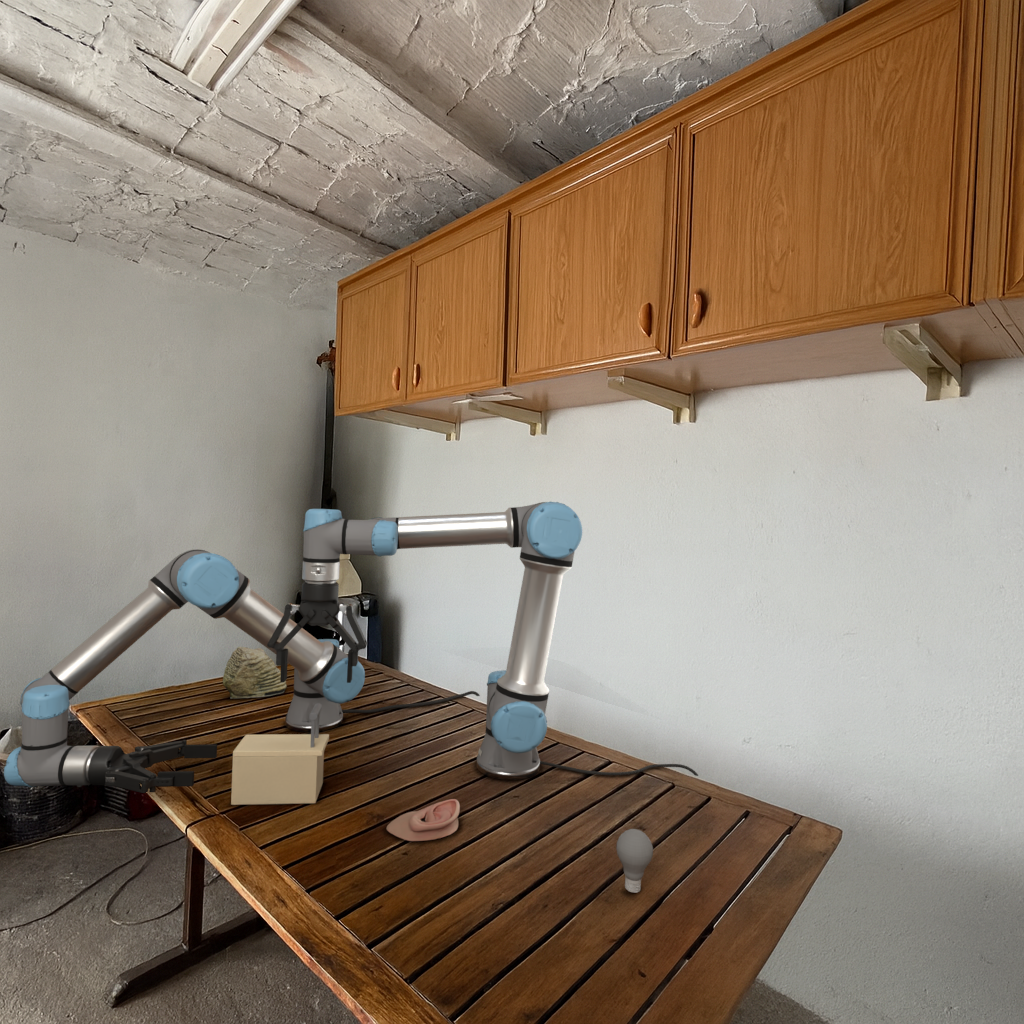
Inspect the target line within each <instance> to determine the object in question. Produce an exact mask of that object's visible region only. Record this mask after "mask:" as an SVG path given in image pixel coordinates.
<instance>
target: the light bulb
mask: <svg viewBox="0 0 1024 1024" xmlns="http://www.w3.org/2000/svg"><path fill="white" fill-rule="evenodd" d="M615 849H616V854H617V857H618V859H619V861H620V863H621V865H622V867H623V873H624V874H623V875H624V876H625V878H624V888H625V890H627V891H628V892H630V893H634V894H635V893H639V892H640V891H641V889H642V887H641V886H642V879H643V877H644V875H645V871H646V868H647V867H648V866H649V864H650V863H651V861H652V859H653V855H654V847H653V843H652V841H651V838H649V836H648V835H647V834H646V833H645V832H643V831H642V830H641V829H636V828H629V829H627V830H625V831H623V832H622V833H621V834H620V835H619V837H618V839H617V841H616V847H615Z"/></svg>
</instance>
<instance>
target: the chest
mask: <svg viewBox="0 0 1024 1024" xmlns="http://www.w3.org/2000/svg"><path fill="white" fill-rule="evenodd" d="M324 763H325V751H324V752H323V755H322V756H238V757H233V756H232V765H231V766H232V770H231V795H230V796H231V797H230V806H231V805H232V806H236V805H237V806H238V805H241V806H244V805H293V804H295V805H296V804H298V805H299V804H316V803H317V800H318V797H319V794H320V792H321V790H322V787H323V783H324Z"/></svg>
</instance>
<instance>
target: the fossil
mask: <svg viewBox="0 0 1024 1024" xmlns="http://www.w3.org/2000/svg"><path fill="white" fill-rule="evenodd" d="M222 676H223V677H222V685H223V687H224V688H225V690H226V691H228V693H229V698H230V699H250V698H264V697H271V696H275V695H281V694H284V693H285V691H286V689H287V687H288V686H287V680H286V681H285V682H280V678H281V669H279V668H278V667H277V665H276V662H274V660H273V659H272V658H271V657H270V656H269V655H268V654H267V653H266V652H265V650H264V649H263V648H260V647H258V648H251V647H247V646H246V647H245V646H238V647H237V648H236V649H235V650H233V651H232V653H231V656H230V657H229V659H228V660H227V663H226V666H225V668H224V671H223V675H222Z"/></svg>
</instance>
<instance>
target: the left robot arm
mask: <svg viewBox="0 0 1024 1024" xmlns="http://www.w3.org/2000/svg"><path fill="white" fill-rule="evenodd" d="M147 585H148V586H147V588H145V589H144V590H143V591H142V592H140V593H139V594H138V595H137V596H136V597H135V598H134V599H133V600H131V601H130V602H128V604H127V605H125V606H124V607H123V608H122V609H120V610H119V611H118V612H117V613H115V615H114V616H112V617H111V618H110V619H109V620H108V621H107V622H105V623H104V624H103V625H102V626H101V627H100V628H98V629H97V630H96V631H94V633H93V634H91V635H90V636H89V637H87V638H86V639H85V640H84V641H83V642H82V643H81V644H79V645H78V646H77V647H76V648H75V649H73V650H72V651H71V652H70V653H69V654H68V655H66V656H65V657H64V658H63V659H62V660H60V662H58V663H57V664H56V665H55V666H53V667H52V668H51V669H50V670H49V671H48V672H46V673H45V674H43V676H42V677H37V678H36V679H33V680H31V681H30V682H29V683H28V684H26V686H25V687H24V688H23V690H22V693H21V695H20V698H19V699H20V701H19V702H20V707H21V746H18V747H16V748H14V749H13V750H12V751H11V752H10V753H9V755H8V757H7V758H6V763H5V766H4V768H3V777H4V779H5V782H6V783H7V784H8V785H11V786H14V787H29V788H37V787H54V786H55V787H58V786H60V787H61V786H63V787H67V786H76V787H77V788H82V787H83V786H90V785H92V786H106V787H117V788H120V789H125V790H129V791H133V792H136V793H141V794H146V793H150V794H151V793H156V791H157V788H171V787H173V788H174V787H175V788H176V787H177V788H178V787H179V788H181V787H183V788H184V787H193V786H194V784H195V770H182V771H181V770H179V771H178V770H175V771H173V770H172V771H167V770H166V771H165V770H164V771H158V772H157V774H156V773H154V772H152V771H150V770H149V769H148V768H152V766H153V765H155V764H158V763H162V762H167V761H170V760H175V759H178V758H183V759H216V758H217V757H218V744H212V743H211V744H188V743H187V739H182V740H177V741H171V742H165V743H158V744H152V745H142V746H141V745H140V746H135V747H134V751H132V752H131V751H130V752H129V753H126V752H125V751H124V750H123V748H122V747H121V746H120V745H101V746H99V745H68V727H69V725H68V724H69V707H70V700H72V698H74V697H75V696H76V695H77V694H78V693H79V692H80V691H81V690H82V689H83V688H85V687H86V686H87V685H88V684H89V683H90V682H92V681H93V680H94V679H95V678H96V677H98V676H99V674H101V673H102V672H103V671H104V670H105V669H106V668H107V667H109V666H110V665H111V664H112V663H113V662H114V661H116V660H117V659H118V658H119V657H120V656H121V655H122V654H124V653H125V652H126V651H127V650H128V649H129V648H131V647H132V645H134V644H135V643H136V642H137V641H138V640H139V639H141V638H142V637H143V636H144V635H145V634H146V633H148V632H149V631H150V630H151V629H152V628H153V627H154V626H156V625H157V624H158V623H159V622H160V621H161V620H162V619H163V618H165V617H166V616H167V615H168V614H169V613H170V612H171V611H173V610H180V609H182V608H183V606H185V605H186V604H187V603H190V604H191V605H193V606H195V607H197V608H198V609H200V610H201V611H203V612H204V613H205V614H206V615H208V616H209V617H211V618H213V619H215V620H216V619H222V618H224V619H226V620H227V621H228V622H230V623H231V624H233V625H234V626H236V627H237V628H239V629H240V630H241V631H243V632H244V633H246V634H247V635H248V636H249V637H251V638H252V639H254V640H255V641H256V642H257V643H259V644H261V645H262V646H264V647H265V648H266V649H268V650H269V651H270V652H272V653H273V654H275V655H276V650H275V649H274V648H269V647H268V646H267V644H268V642H269V640H270V638H271V637H272V635H273V633H274V631H275V630H276V628H277V626H278V624H279V623H280V621H281V619H282V617H283V615H284V612H282V611H281V610H279V609H278V608H277V607H276V606H275V605H273V604H271V603H270V602H269V601H268V600H266V599H265V598H264V597H263V596H261V595H260V594H258V593H257V592H256V591H254V590H253V589H252V588H251V581H250V578H249V577H247V576H246V575H245V574H244V573H243V572H241V571H239V570H238V569H237V568H236V566H235V565H234V564H233V563H232V561H231V560H229V559H227V558H226V557H224V556H222V555H220V554H218V553H212V552H210V551H207V550H205V549H190V550H186V551H184V552H181V553H179V554H178V555H177V556H175V557H174V558H172V560H171V561H170V562H168V563H167V564H166V565H165V566H164V567H163V568H162V569H160V570H159V571H158V572H156V574H155V575H154V576H152V578H150V579H149V580H148V584H147ZM297 624H298V623H296V622H295V621H294V620H293V619H291V618H290V619H289V621H288V622H287V624H286V626H285V628H284V630H283V631H282V633H281V635H280V637H279V638H278V640H277V642H281V641H282V640H283V639H284V638H285V637H286V636H287V635H288V634H289V633H290V632H291V631H292V629H293V628H294V627H295V626H296V625H297ZM340 647H341V646H340V642H339V640H338V639H334V638H323V639H322V638H319V639H317V638H316V637H315V636H313V635H312V634H311V633H309V632H308V631H307V630H305V629H304V628H303V627H302V628H301V629H300V630H299V632H298V633H297V634H296V635H295V636H294V637H293V638H292V639H291V640H290V641H289V642H288V643H287V644H286V646H285V647H284V649H288V663H287V664H288V665H290V666H292V667H293V668H294V672H293V695H292V696H293V697H292V699H291V702H290V704H289V708H288V710H287V712H286V714H285V726H286V728H287V729H289V730H291V731H294V732H295V731H296V732H301V733H311V720H310V718H309V715H310V713H311V711H312V709H313V708H314V706H315V704H317V703H320V704H321V705H322V709H321V711H320V713H319V732H325V731H329V730H332V729H335V728H337V727H339V726H340V725H342V723H343V722H344V714H373V713H379V712H383V711H388V710H394V709H404V708H416V707H423V706H430V705H434V704H435V705H436V704H440V703H445V702H448V701H452V700H456V699H459V698H464V697H466V696H469V695H473V696H474V695H475V696H476V697H480V696H481V695H480V693H478V692H477V691H474V690H469V691H467V692H466V691H465V692H464V693H460V694H455V695H451V696H449V697H445V698H439V699H434V700H430V701H422V702H416V703H403V704H393V705H387V706H381V707H377V708H372V709H342V706H341V704H344V703H347V702H350V701H352V700H354V699H355V698H356V697H357V696H358V695H359V693H361V692H362V689H363V687H364V684H365V682H366V672H365V668H364V666H363V665H362V663H361V662H360V661H359V660H358V663H357V665H356V666H353V668H352V680H351V683H347V668H348V653H346V652H344V651H343V650H342V649H340ZM315 721H316V720H315Z"/></svg>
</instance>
